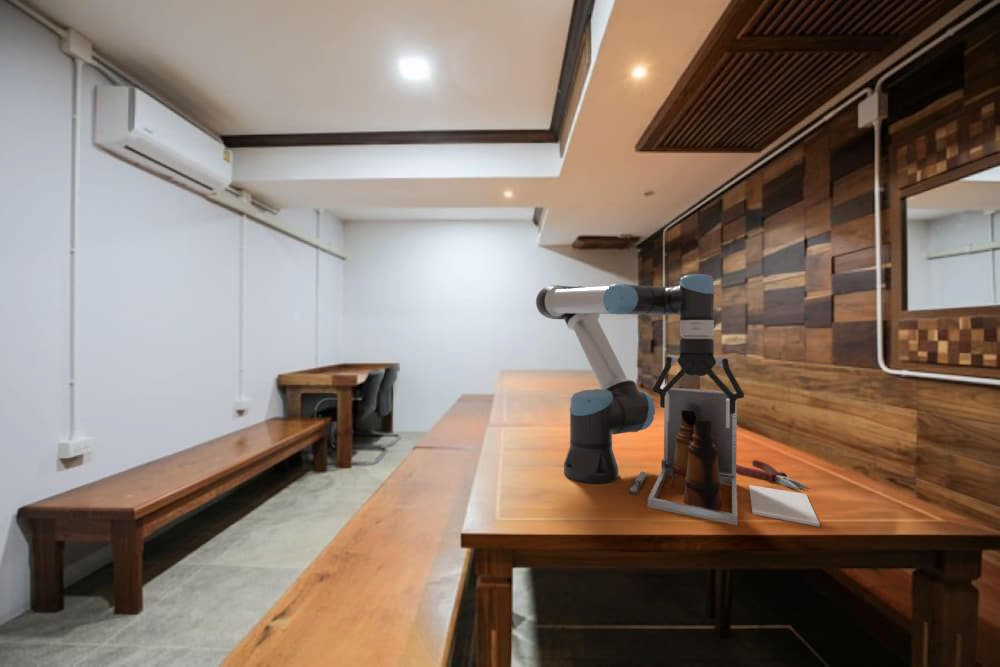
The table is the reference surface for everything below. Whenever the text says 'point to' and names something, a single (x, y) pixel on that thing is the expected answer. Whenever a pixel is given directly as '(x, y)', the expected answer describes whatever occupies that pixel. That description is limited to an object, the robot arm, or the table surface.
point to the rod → (637, 483)
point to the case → (724, 439)
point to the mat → (782, 505)
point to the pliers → (769, 475)
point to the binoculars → (696, 463)
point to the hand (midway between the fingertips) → (696, 423)
